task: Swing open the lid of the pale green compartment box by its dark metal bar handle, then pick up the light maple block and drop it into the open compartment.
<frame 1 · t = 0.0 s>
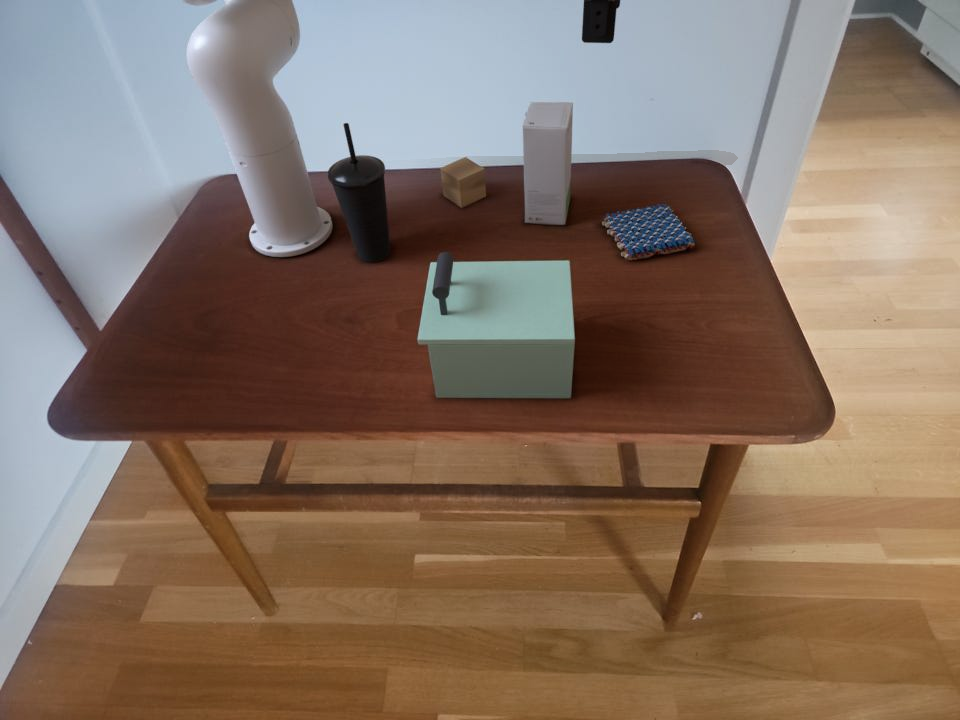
hand: (601, 23, 69), 31 cm above the table, tool pointing down, fingers open, 9 cm apart
maple block: (464, 196, 104), on the table
compartment: (504, 357, 79), on the table
drinking cup: (374, 253, 95), on the table
woven mat: (646, 238, 94), on the table
compartment lid: (496, 286, 71), point 11 cm above the table, hinge at 0.0°
cosmetic box: (546, 211, 100), on the table
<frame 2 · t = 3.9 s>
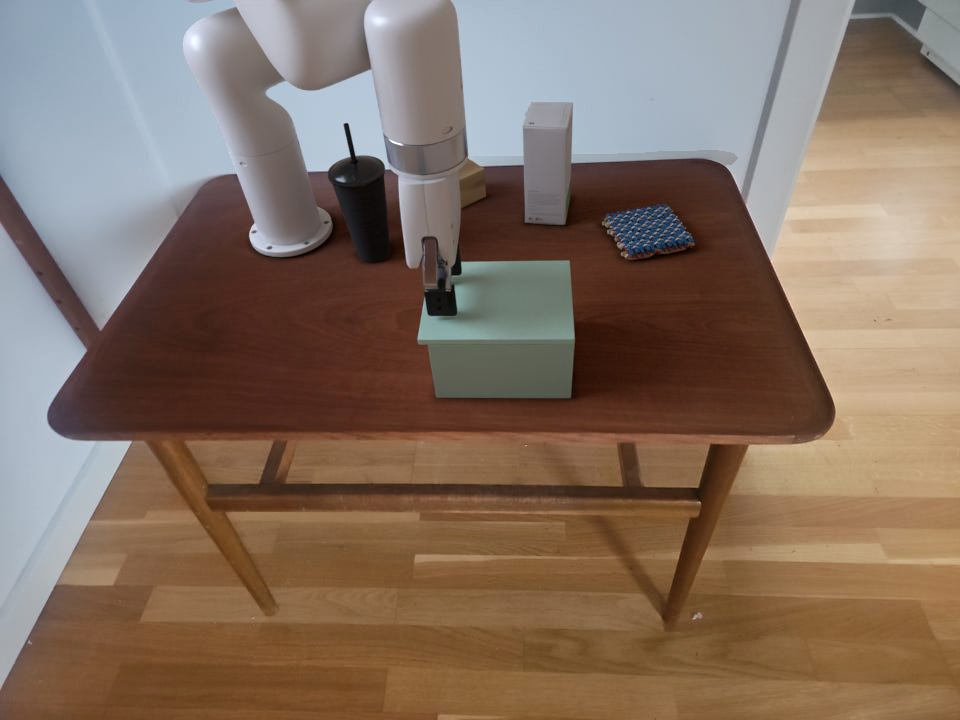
hand: (445, 292, 72), 10 cm above the table, tool pointing down, fingers closed on compartment lid, 6 cm apart
compartment lid: (496, 286, 71), point 11 cm above the table, hinge at 0.0°, touching gripper
everything else where it was.
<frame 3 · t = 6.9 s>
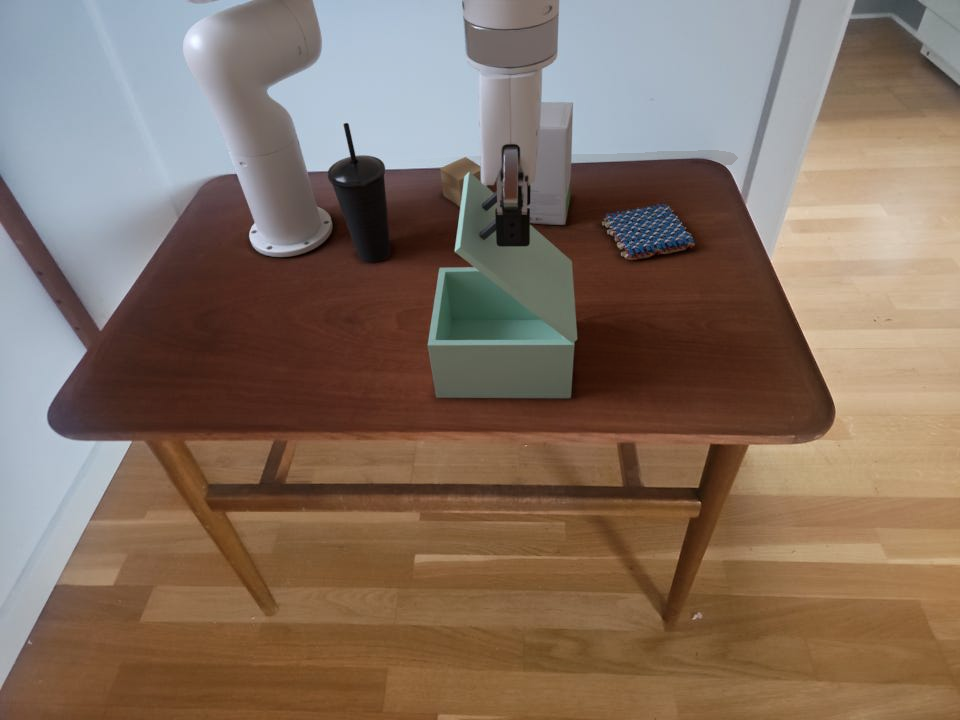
hand: (514, 222, 65), 20 cm above the table, tool pointing down, fingers closed on compartment lid, 6 cm apart
compartment lid: (534, 245, 67), point 17 cm above the table, hinge at 46.8°, touching gripper
everything else where it was.
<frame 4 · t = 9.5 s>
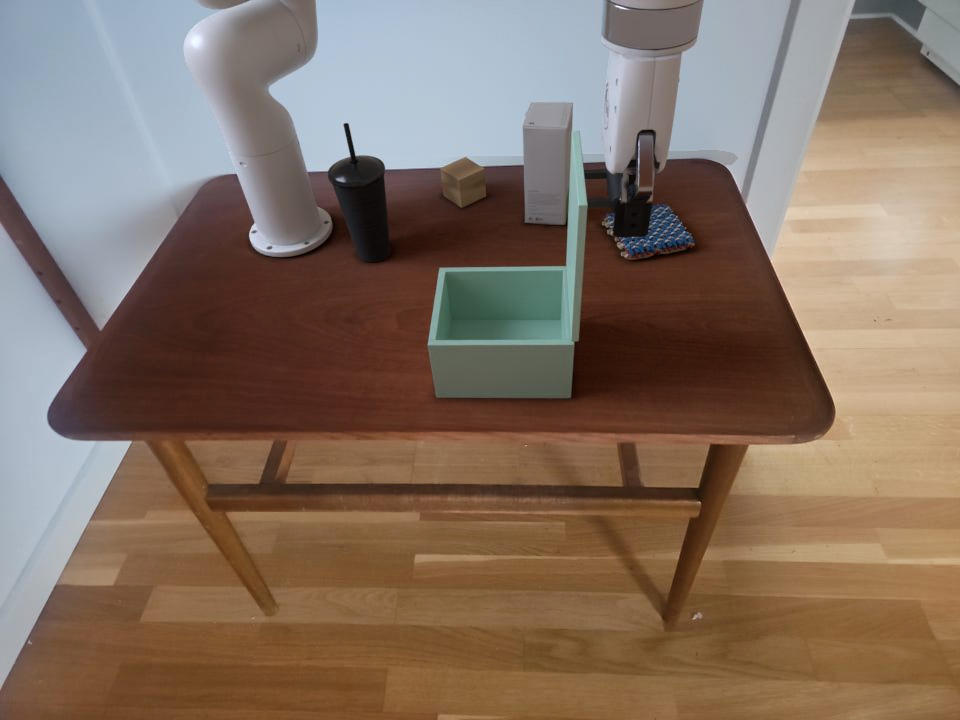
hand: (626, 213, 63), 20 cm above the table, tool pointing down, fingers closed on compartment lid, 6 cm apart
compartment lid: (596, 238, 66), point 18 cm above the table, hinge at 89.7°, touching gripper
everything else where it was.
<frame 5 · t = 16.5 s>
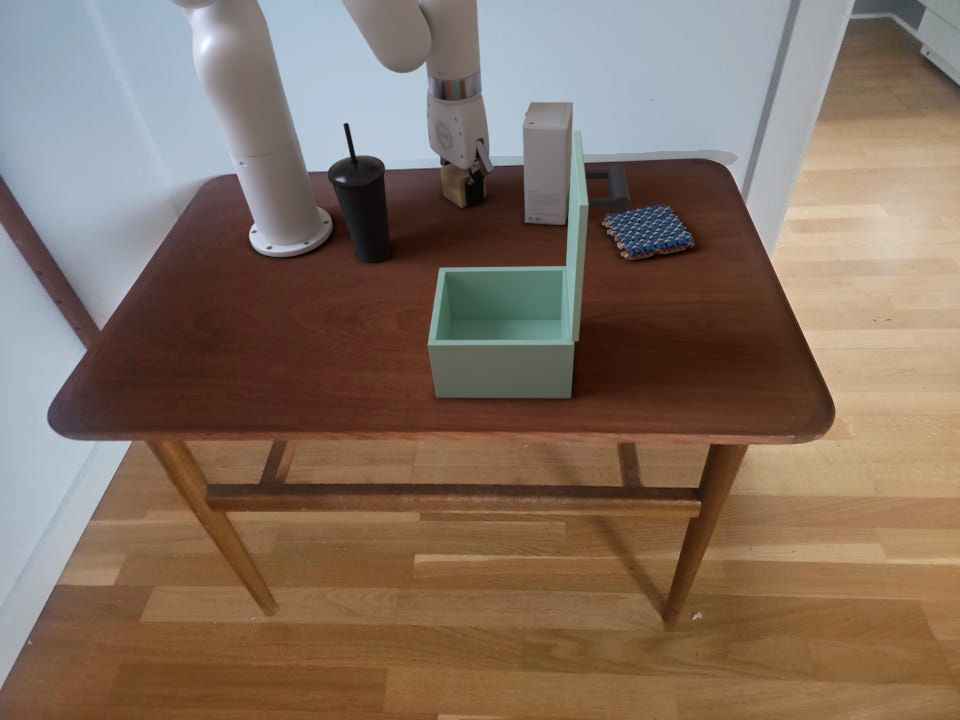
hand: (464, 193, 104), 0 cm above the table, tool pointing down, fingers closed on maple block, 5 cm apart
maple block: (464, 196, 104), on the table, touching gripper
compartment lid: (596, 238, 66), point 18 cm above the table, hinge at 90.0°
everything else where it was.
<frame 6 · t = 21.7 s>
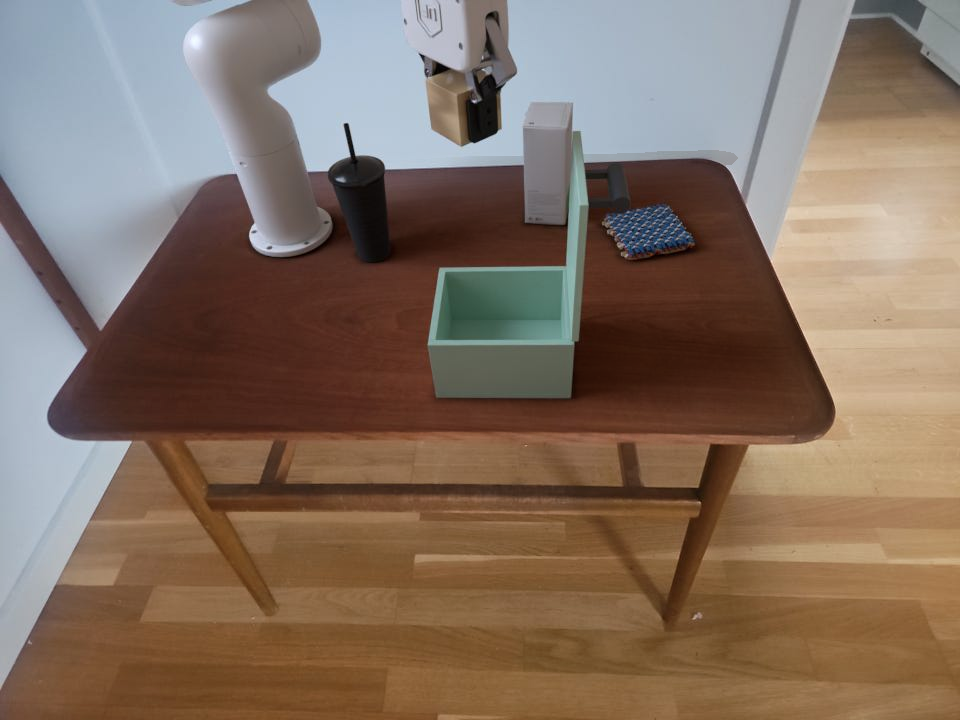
hand: (465, 125, 63), 27 cm above the table, tool pointing down, fingers closed on maple block, 5 cm apart
maple block: (466, 129, 63), point 27 cm above the table, touching gripper
everything else where it was.
when the fingers open (8 cm above the table, at t = 27.0 s): maple block drops 7 cm, resting on compartment.
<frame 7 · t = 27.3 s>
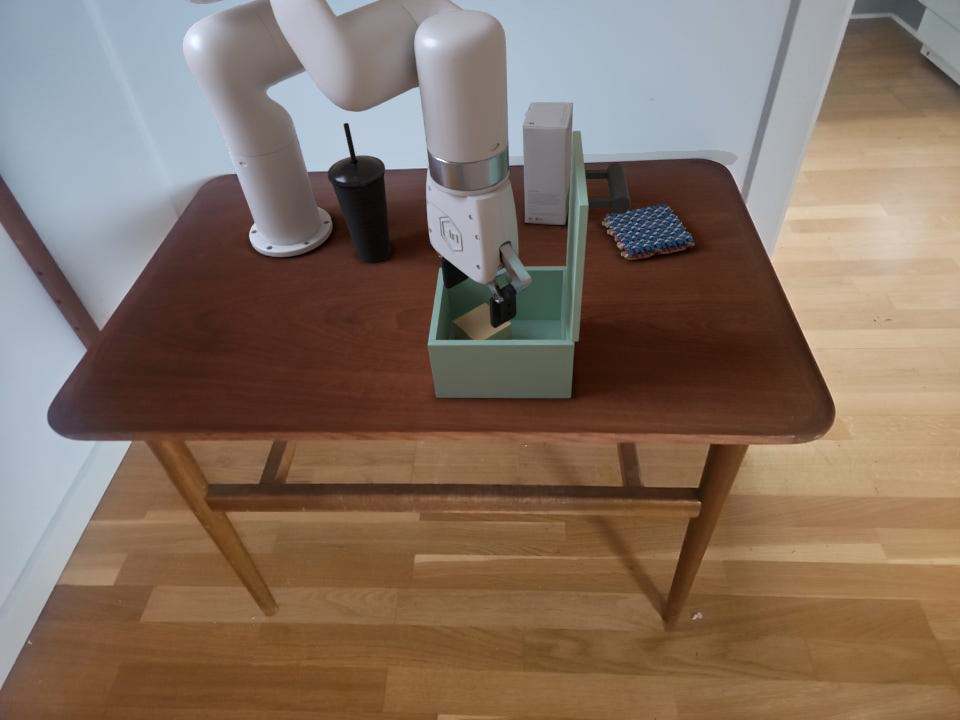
hand: (479, 300, 73), 9 cm above the table, tool pointing down, fingers open, 8 cm apart
maple block: (484, 351, 79), point 1 cm above the table, touching compartment
everything else where it was.
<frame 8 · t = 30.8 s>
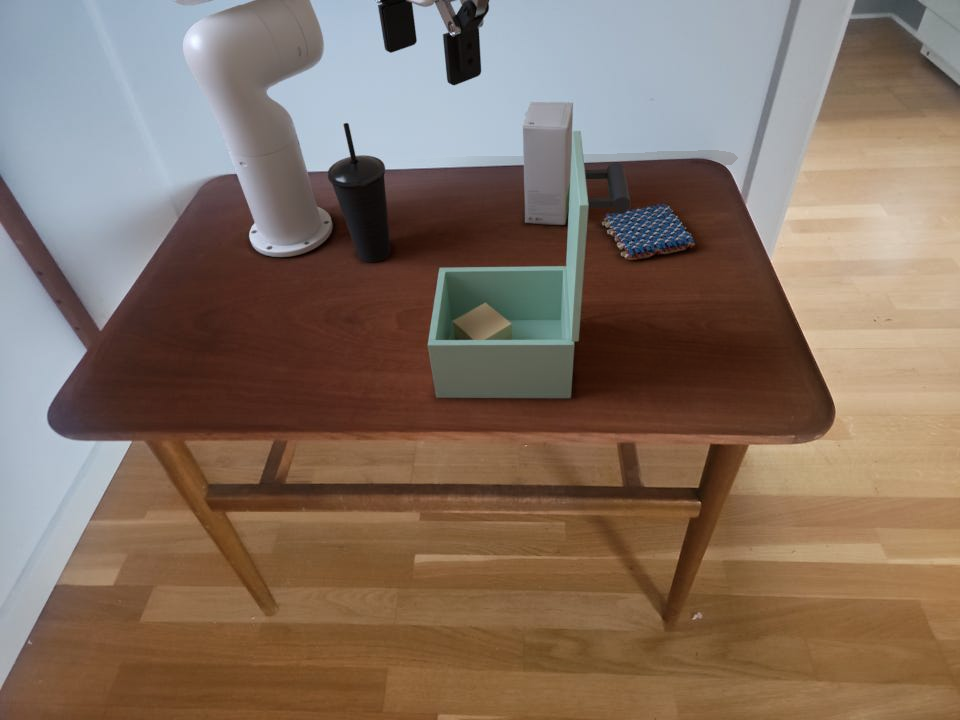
hand: (431, 62, 57), 34 cm above the table, tool pointing down, fingers open, 9 cm apart
nothing on the table moved.
at the end: compartment lid at +90° (first picture: +0°); maple block inside the target area in the compartment (2.5 cm from its centre), point 0.8 cm above the compartment's base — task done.
